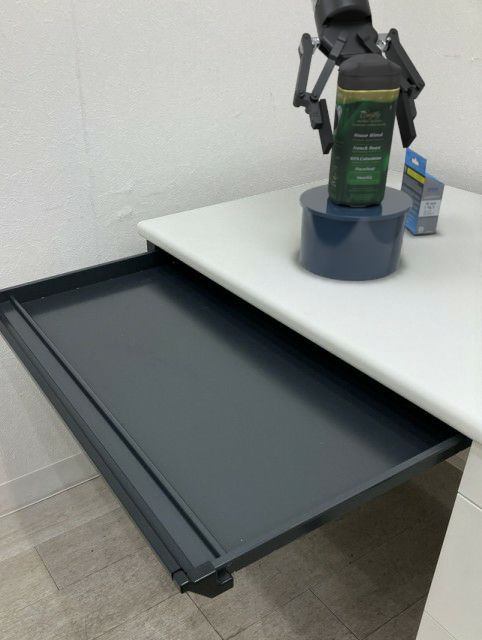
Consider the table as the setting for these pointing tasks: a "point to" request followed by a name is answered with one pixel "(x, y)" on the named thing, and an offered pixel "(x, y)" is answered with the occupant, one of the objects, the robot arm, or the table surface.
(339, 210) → the pot
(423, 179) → the tape cartridge
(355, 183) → the coffee jar
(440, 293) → the table surface
